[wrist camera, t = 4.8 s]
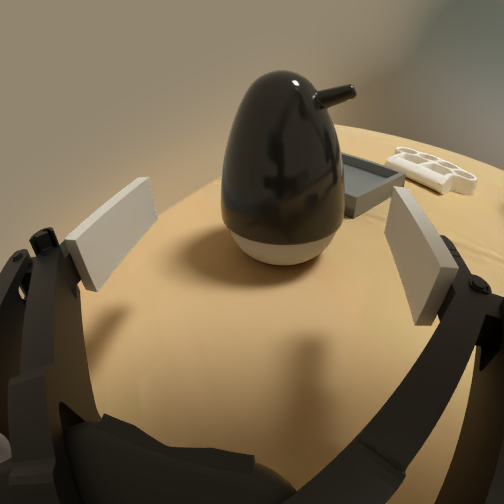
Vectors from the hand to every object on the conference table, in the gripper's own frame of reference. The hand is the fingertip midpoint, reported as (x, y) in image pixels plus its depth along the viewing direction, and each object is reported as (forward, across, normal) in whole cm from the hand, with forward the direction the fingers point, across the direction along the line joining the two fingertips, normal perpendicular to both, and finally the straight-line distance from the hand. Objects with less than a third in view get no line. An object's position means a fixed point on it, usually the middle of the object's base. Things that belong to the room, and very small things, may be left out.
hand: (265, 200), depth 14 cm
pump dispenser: (+8, 0, -8) cm, 12 cm away
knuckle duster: (+34, +25, -9) cm, 44 cm away
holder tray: (+25, +7, -8) cm, 27 cm away
